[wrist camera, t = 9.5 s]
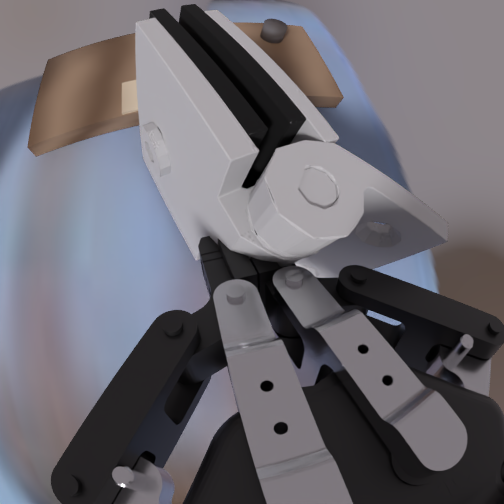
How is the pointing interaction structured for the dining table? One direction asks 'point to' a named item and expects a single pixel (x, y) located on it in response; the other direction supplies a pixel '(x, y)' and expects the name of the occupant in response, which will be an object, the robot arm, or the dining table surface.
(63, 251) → the dining table surface
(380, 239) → the hinge
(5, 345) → the dining table surface
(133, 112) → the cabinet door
